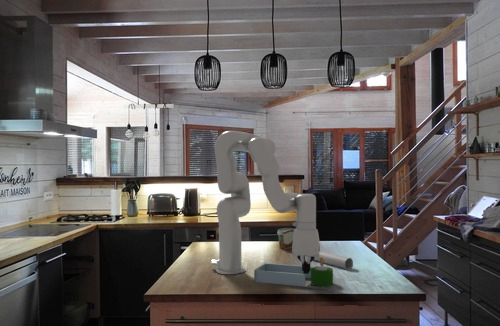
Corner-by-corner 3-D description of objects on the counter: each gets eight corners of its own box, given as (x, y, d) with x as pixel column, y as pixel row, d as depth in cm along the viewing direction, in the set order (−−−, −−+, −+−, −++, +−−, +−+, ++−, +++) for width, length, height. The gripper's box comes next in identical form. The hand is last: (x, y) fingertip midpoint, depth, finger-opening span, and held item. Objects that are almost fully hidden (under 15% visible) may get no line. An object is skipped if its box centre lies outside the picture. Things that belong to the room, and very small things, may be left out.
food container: (284, 245, 233) (284, 227, 233) (294, 246, 229) (294, 228, 229) (272, 249, 223) (272, 230, 223) (282, 250, 219) (282, 231, 219)
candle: (337, 283, 159) (337, 257, 159) (323, 288, 153) (323, 261, 153) (320, 279, 165) (319, 253, 165) (306, 283, 160) (306, 257, 160)
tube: (304, 251, 199) (343, 261, 178) (312, 246, 202) (351, 255, 181) (307, 261, 200) (346, 272, 179) (315, 256, 203) (354, 266, 182)
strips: (306, 288, 154) (306, 286, 154) (314, 277, 168) (314, 275, 168) (325, 289, 151) (325, 288, 151) (332, 278, 166) (332, 277, 166)
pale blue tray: (254, 281, 162) (254, 270, 162) (264, 273, 174) (264, 262, 174) (304, 286, 155) (304, 274, 155) (311, 277, 167) (311, 266, 167)
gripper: (284, 226, 160) (285, 273, 160) (323, 228, 155) (323, 277, 155) (289, 223, 167) (289, 269, 167) (327, 225, 162) (327, 272, 162)
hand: (306, 272), depth 161 cm, fingers closed
